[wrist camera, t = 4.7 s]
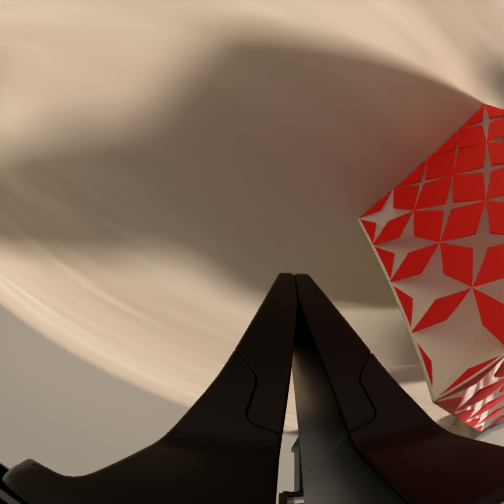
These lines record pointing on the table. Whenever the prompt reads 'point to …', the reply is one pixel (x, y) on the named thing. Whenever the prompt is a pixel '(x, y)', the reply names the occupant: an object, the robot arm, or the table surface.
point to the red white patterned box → (452, 266)
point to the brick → (465, 429)
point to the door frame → (477, 434)
